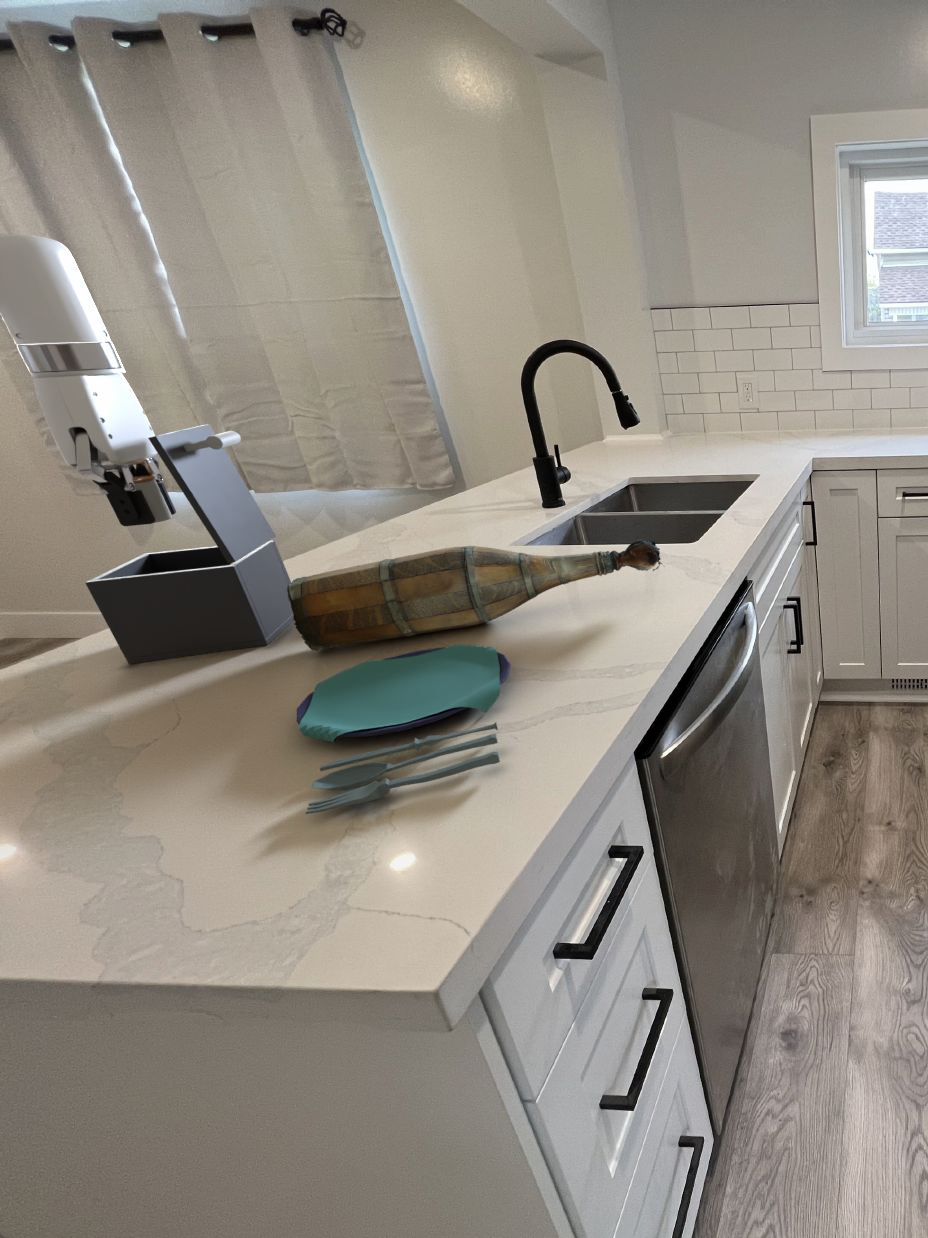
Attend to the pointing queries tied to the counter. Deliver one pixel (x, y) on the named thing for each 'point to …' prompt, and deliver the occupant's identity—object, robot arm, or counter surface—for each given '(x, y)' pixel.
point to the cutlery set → (401, 714)
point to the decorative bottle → (438, 590)
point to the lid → (215, 488)
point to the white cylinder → (153, 497)
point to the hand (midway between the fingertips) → (149, 518)
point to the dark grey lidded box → (194, 602)
